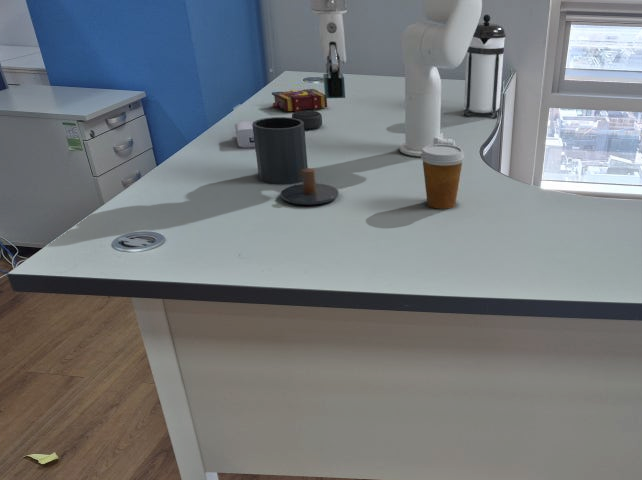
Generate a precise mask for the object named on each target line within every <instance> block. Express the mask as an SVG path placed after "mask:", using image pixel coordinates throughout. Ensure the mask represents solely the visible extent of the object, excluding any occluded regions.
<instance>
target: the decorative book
mask: <svg viewBox="0 0 642 480" xmlns="http://www.w3.org/2000/svg"><path fill="white" fill-rule="evenodd" d="M271 95H272V96H273V97H274V102H272V106H271V107H270V108H271V109H274V107H276V108H279V109H281V110H282V111H285V112H297V111H305V110H312V111H315V110H320V109H324V108H328V98H326V97H325V93H322V92H320V91H319V90H317V89H315V88H307V89H302V90H296V89H290V91H272V92H271Z"/></svg>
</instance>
